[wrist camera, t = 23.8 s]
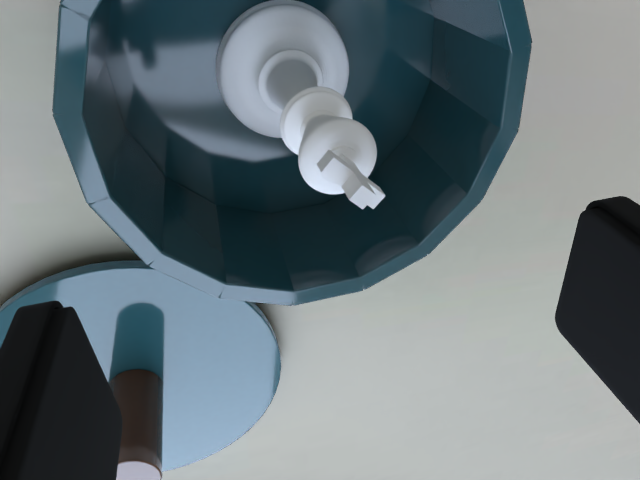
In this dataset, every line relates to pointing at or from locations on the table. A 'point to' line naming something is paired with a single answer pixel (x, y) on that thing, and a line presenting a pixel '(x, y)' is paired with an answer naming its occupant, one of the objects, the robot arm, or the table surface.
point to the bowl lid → (167, 359)
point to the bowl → (272, 153)
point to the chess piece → (299, 94)
